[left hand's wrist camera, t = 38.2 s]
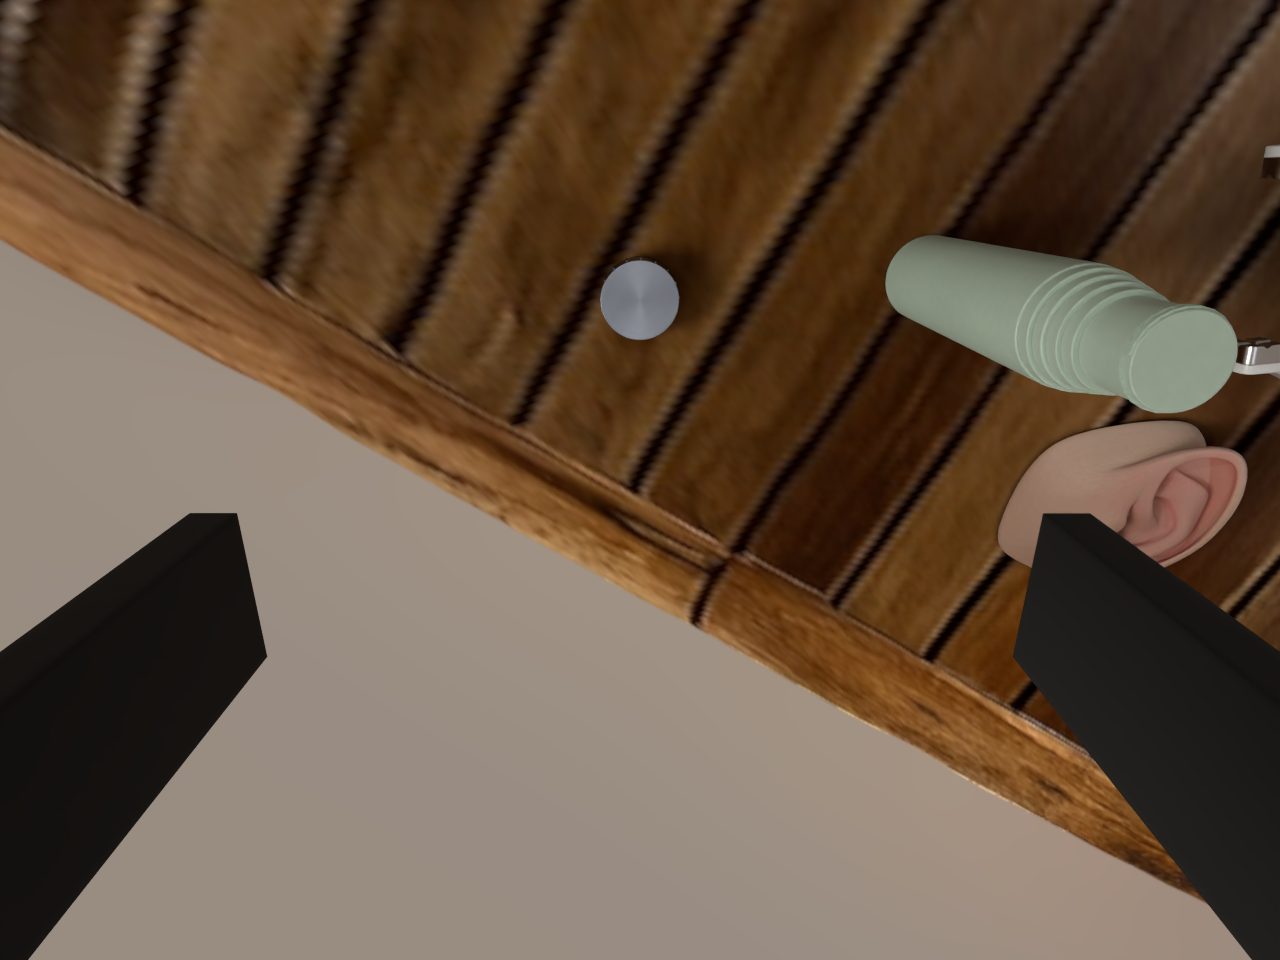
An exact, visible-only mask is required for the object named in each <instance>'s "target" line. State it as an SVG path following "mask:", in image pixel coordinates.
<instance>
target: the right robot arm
mask: <svg viewBox="0 0 1280 960" xmlns="http://www.w3.org/2000/svg"><path fill="white" fill-rule="evenodd" d="M1267 178H1272V179H1280V144H1279V145H1270V146H1266V149H1265V154H1264V160H1263V166H1262V172H1261V178H1260V179H1267ZM1237 345H1238V352H1237V359H1236V363H1235V366H1234V369H1233V371H1234V372H1237V373H1240V374H1249V375H1254V374H1264V373H1269V374H1271V375H1273V376H1275V377H1277V378H1279V379H1280V342H1271V341H1270V340H1269V339H1265V338H1261V337H1257V338H1247V339H1246V340H1244V341H1243V340H1239V339H1237Z"/></svg>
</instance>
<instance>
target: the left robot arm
mask: <svg viewBox="0 0 1280 960" xmlns="http://www.w3.org/2000/svg"><path fill="white" fill-rule="evenodd" d="M266 658H267V654H266V649H265V644H264V639H263V635H262V630H261V625H260V620H259V616H258V611H257V606H256V601H255V597H254V592H253V587H252V582H251V578H250V573H249V568H248V563H247V559H246V554H245V549H244V544H243V540H242V535H241V530H240V525H239V521H238V516H237V513H190V514H188V515H187V516H185V517H184V518H183V519H181V520H180V521H179V522H177V523H176V524H175V525H173V526H172V527H170V528H169V529H168V530H166V531H165V532H164V533H162V534H161V535H160V536H158V537H157V538H155V539H154V540H153V541H151V542H150V543H149V544H147V545H146V546H144V547H143V548H142V549H140V550H139V551H138V552H136V553H135V554H133V555H132V556H131V557H129V558H128V559H127V560H125V561H124V562H123V563H121V564H120V565H119V566H117V567H116V568H114V569H113V570H112V571H110V572H109V573H108V574H106V575H105V576H103V577H102V578H101V579H99V580H98V581H97V582H95V583H94V584H93V585H91V586H90V587H88V588H87V589H86V590H84V591H83V592H82V593H80V594H79V595H77V596H76V597H75V598H73V599H72V600H71V601H69V602H68V603H67V604H65V605H64V606H62V607H61V608H60V609H58V610H57V611H56V612H54V613H53V614H51V615H50V616H49V617H47V618H46V619H45V620H43V621H42V622H40V623H39V624H38V625H36V626H35V627H34V628H32V629H31V630H30V631H28V632H27V633H26V634H24V635H23V636H21V637H20V638H19V639H17V640H16V641H15V642H13V643H12V644H10V645H9V646H8V647H6V648H5V649H4V650H2V651H1V652H0V960H28V959H29V958H30V957H31V955H32V954H33V953H34V952H35V950H36V949H37V948H38V947H39V945H40V944H41V943H42V941H43V940H44V939H45V938H46V936H47V935H48V934H49V933H50V931H51V930H52V929H53V927H54V926H55V925H56V924H57V922H58V921H59V920H60V919H61V917H62V916H63V915H64V914H65V912H66V911H67V910H68V908H69V907H70V906H71V905H72V903H73V902H74V901H75V900H76V898H77V897H78V896H79V895H80V893H81V892H82V891H83V889H84V888H85V887H86V886H87V884H88V883H89V882H90V881H91V879H92V878H93V877H94V876H95V874H96V873H97V872H98V870H99V869H100V868H101V867H102V865H103V864H104V863H105V862H106V860H107V859H108V858H109V856H110V855H111V854H112V853H113V851H114V850H115V849H116V848H117V846H118V845H119V844H120V843H121V841H122V840H123V839H124V837H125V836H126V835H127V834H128V832H129V831H130V830H131V829H132V827H133V826H134V825H135V824H136V822H137V821H138V820H139V818H140V817H141V816H142V815H143V813H144V812H145V811H146V810H147V808H148V807H149V806H150V805H151V803H152V802H153V801H154V799H155V798H156V797H157V796H158V794H159V793H160V792H161V791H162V789H163V788H164V787H165V785H166V784H167V783H168V782H169V780H170V779H171V778H172V777H173V775H174V774H175V773H176V772H177V770H178V769H179V768H180V767H181V765H182V764H183V763H184V761H185V760H186V759H187V758H188V756H189V755H190V754H191V753H192V751H193V750H194V749H195V748H196V746H197V745H198V744H199V742H200V741H201V740H202V739H203V737H204V736H205V735H206V734H207V732H208V731H209V730H210V728H211V727H212V726H213V725H214V723H215V722H216V721H217V720H218V718H219V717H220V716H221V715H222V713H223V712H224V711H225V709H226V708H227V707H228V706H229V704H230V703H231V702H232V701H233V699H234V698H235V697H236V695H237V694H238V693H239V692H240V690H241V689H242V688H243V687H244V685H245V684H246V683H247V682H248V680H249V679H250V678H251V676H252V675H253V674H254V673H255V671H256V670H257V669H258V668H259V666H260V665H261V664H262V663H263V661H264V660H265V659H266ZM1013 658H1014V659H1015V660H1016V661H1017V663H1018V664H1019V665H1020V666H1021V668H1022V669H1023V670H1024V671H1025V673H1026V674H1027V675H1028V677H1029V678H1030V679H1031V680H1032V682H1033V683H1034V684H1035V685H1036V687H1037V688H1038V689H1039V690H1040V692H1041V693H1042V694H1043V696H1044V697H1045V698H1046V699H1047V701H1048V702H1049V703H1050V704H1051V706H1052V707H1053V708H1054V709H1055V711H1056V712H1057V713H1058V715H1059V716H1060V717H1061V718H1062V720H1063V721H1064V722H1065V723H1066V725H1067V726H1068V727H1069V728H1070V730H1071V731H1072V732H1073V734H1074V735H1075V736H1076V737H1077V739H1078V740H1079V741H1080V742H1081V744H1082V745H1083V746H1084V748H1085V749H1086V750H1087V751H1088V753H1089V754H1090V755H1091V756H1092V758H1093V759H1094V760H1095V761H1096V763H1097V764H1098V765H1099V767H1100V768H1101V769H1102V770H1103V772H1104V773H1105V774H1106V775H1107V777H1108V778H1109V779H1110V780H1111V782H1112V783H1113V784H1114V786H1115V787H1116V788H1117V789H1118V791H1119V792H1120V793H1121V794H1122V796H1123V797H1124V798H1125V799H1126V801H1127V802H1128V803H1129V805H1130V806H1131V807H1132V808H1133V810H1134V811H1135V812H1136V813H1137V815H1138V816H1139V817H1140V818H1141V820H1142V821H1143V822H1144V824H1145V825H1146V826H1147V827H1148V829H1149V830H1150V831H1151V832H1152V834H1153V835H1154V836H1155V838H1156V839H1157V840H1158V841H1159V843H1160V844H1161V845H1162V846H1163V848H1164V849H1165V850H1166V851H1167V853H1168V854H1169V855H1170V857H1171V858H1172V859H1173V860H1174V862H1175V863H1176V864H1177V865H1178V867H1179V868H1180V869H1181V870H1182V872H1183V873H1184V874H1185V876H1186V877H1187V878H1188V879H1189V881H1190V882H1191V883H1192V884H1193V886H1194V887H1195V888H1196V889H1197V891H1198V892H1199V893H1200V895H1201V896H1202V897H1203V898H1204V900H1205V901H1206V902H1207V903H1208V905H1209V906H1210V907H1211V908H1212V910H1213V911H1214V912H1215V914H1216V915H1217V916H1218V917H1219V919H1220V920H1221V921H1222V922H1223V924H1224V925H1225V926H1226V928H1227V929H1228V930H1229V931H1230V933H1231V934H1232V935H1233V936H1234V938H1235V939H1236V940H1237V941H1238V943H1239V944H1240V945H1241V946H1242V948H1243V949H1244V950H1245V952H1246V953H1247V954H1248V955H1249V957H1250V958H1251V959H1252V960H1280V652H1279V651H1278V650H1276V649H1275V648H1274V647H1272V646H1271V645H1270V644H1268V643H1267V642H1265V641H1264V640H1263V639H1261V638H1260V637H1259V636H1257V635H1256V634H1255V633H1253V632H1252V631H1250V630H1249V629H1248V628H1246V627H1245V626H1244V625H1242V624H1241V623H1239V622H1238V621H1237V620H1235V619H1234V618H1233V617H1231V616H1230V615H1229V614H1227V613H1226V612H1224V611H1223V610H1222V609H1220V608H1219V607H1218V606H1216V605H1215V604H1214V603H1212V602H1211V601H1209V600H1208V599H1207V598H1205V597H1204V596H1203V595H1201V594H1200V593H1198V592H1197V591H1196V590H1194V589H1193V588H1192V587H1190V586H1189V585H1188V584H1186V583H1185V582H1183V581H1182V580H1181V579H1179V578H1178V577H1177V576H1175V575H1174V574H1172V573H1171V572H1170V571H1168V570H1167V569H1166V568H1164V567H1163V566H1162V565H1160V564H1159V563H1157V562H1156V561H1155V560H1153V559H1152V558H1151V557H1149V556H1148V555H1147V554H1145V553H1144V552H1142V551H1141V550H1140V549H1138V548H1137V547H1136V546H1134V545H1133V544H1131V543H1130V542H1129V541H1127V540H1126V539H1125V538H1123V537H1122V536H1121V535H1119V534H1118V533H1116V532H1115V531H1114V530H1112V529H1111V528H1110V527H1108V526H1107V525H1105V524H1104V523H1103V522H1101V521H1100V520H1099V519H1097V518H1096V517H1095V516H1093V515H1092V514H1090V513H1043V516H1042V521H1041V525H1040V530H1039V535H1038V540H1037V544H1036V549H1035V554H1034V559H1033V563H1032V568H1031V573H1030V578H1029V582H1028V587H1027V592H1026V597H1025V601H1024V606H1023V611H1022V616H1021V620H1020V625H1019V630H1018V635H1017V639H1016V644H1015V649H1014V654H1013Z"/></svg>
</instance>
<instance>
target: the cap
mask: <svg viewBox="0 0 1280 960" xmlns="http://www.w3.org/2000/svg"><path fill="white" fill-rule="evenodd" d="M604 281H605V282H604V285H603V288H602V291H601V293H600V296H601V310H602V312H603V315H604V317H605V319H606V321H607V323H608V324H609V325H610V327H611V328H612V329H613V330H614V331H616V332H617V333H618V334H620V335H622V336H624V337H626V338H629V339H633V340H646V339H651V338H654V337H656V336H658V335H660V334H661V333H663V332H664V331H665V330H667V328H668V327H669V326H670V325H671V324H672V322H673V321H674V319H675V317H676V315H677V313H678V308H679V298H680V296H679V293H678V289H677V285H676V283H677V282H676V280H675V279H674V278H673V276H672V274H671V273H670V272H669V270H668V268H667V267H665V266H664V265H662V264H661V263H660V262H658V261H656V259H651V258H647V257H642V256H640V257H633V258H629V259H628V258H626V260H624V261H622V262H620V263H619V264H617V265H616V266H614V267H613V269H612V270H611V271H610V273H609V274H608V276H607V277H605V280H604Z"/></svg>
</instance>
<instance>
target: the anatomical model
mask: <svg viewBox="0 0 1280 960" xmlns="http://www.w3.org/2000/svg"><path fill="white" fill-rule="evenodd" d="M1246 481H1247V465H1246V462H1245V460H1244V458H1243V457H1242V456H1241V455H1240V454H1239V453H1237V452H1236V451H1234V450H1232V449H1228V448H1224V447H1214V446H1207V447H1206V443H1205V440H1204V437H1203V435H1202V434H1201V432H1200V431H1199V429H1197V428H1196V427H1195V426H1193V425H1191V424H1189V423H1186V422H1181V421H1149V422H1138V423H1130V424H1123V425H1117V426H1111V427H1105V428H1101V429H1096V430H1092V431H1088V432H1084V433H1080V434H1077V435H1074V436H1071V437H1068V438H1066V439H1064V440H1061V441H1059V442H1058V443H1056V444H1054V445H1053V446H1051V447H1050V448H1048V449H1047V450H1046V451H1045V452H1043V453H1042V454H1041V455H1040V456H1039V457H1038V458H1037V459H1036V460H1035V461H1034V462H1033V464H1032V465H1031V466H1030V467H1029V469H1028V470H1027V471H1026V473H1025V474H1024V476H1023V477H1022V479H1021V480H1020V482H1019V483H1018V485H1017V487H1016V489H1015V491H1014V493H1013V495H1012V496H1011V498H1010V500H1009V503H1008V505H1007V507H1006V509H1005V512H1004V514H1003V517H1002V520H1001V523H1000V526H999V530H998V542H999V545H1000V547H1001V548H1002V550H1003V551H1004V552H1005V553H1006V554H1008V555H1009V556H1011V557H1012V558H1014V559H1015V560H1017V561H1019V562H1021V563H1023V564H1025V565H1027V566H1029V567H1031V568H1032V563H1033V559H1034V554H1035V549H1036V544H1037V540H1038V535H1039V530H1040V525H1041V521H1042V516H1043V513H1090V514H1092V515H1093V516H1095V517H1096V518H1097V519H1099V520H1100V521H1101V522H1103V523H1104V524H1105V525H1107V526H1108V527H1110V528H1111V529H1112V530H1114V531H1115V532H1116V533H1118V534H1119V535H1121V536H1122V537H1123V538H1125V539H1126V540H1127V541H1129V542H1130V543H1131V544H1133V545H1134V546H1136V547H1137V548H1138V549H1140V550H1141V551H1142V552H1144V553H1145V554H1147V555H1148V556H1149V557H1151V558H1152V559H1153V560H1155V561H1156V562H1157V563H1159V564H1160V565H1162V566H1163V567H1166V566H1168V565H1171V564H1173V563H1175V562H1177V561H1179V560H1181V559H1183V558H1184V557H1186V556H1188V555H1190V554H1191V553H1193V552H1194V551H1196V550H1197V549H1199V548H1200V547H1202V546H1203V545H1204V544H1205V543H1207V542H1208V541H1209V540H1210V539H1211V538H1213V536H1214V535H1215V534H1216V533H1217V532H1218V531H1219V530H1220V529H1221V528H1222V527H1223V526H1224V525H1225V523H1226V522H1227V521H1228V520H1229V519H1230V517H1231V516H1232V514H1233V513H1234V512H1235V510H1236V508H1237V507H1238V505H1239V503H1240V501H1241V498H1242V496H1243V493H1244V490H1245V486H1246Z"/></svg>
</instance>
